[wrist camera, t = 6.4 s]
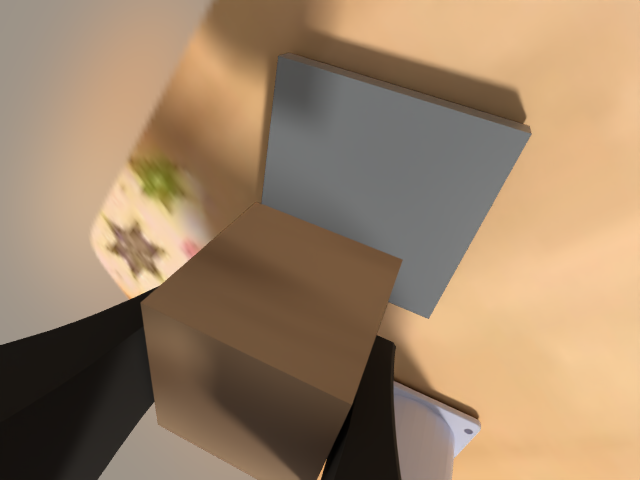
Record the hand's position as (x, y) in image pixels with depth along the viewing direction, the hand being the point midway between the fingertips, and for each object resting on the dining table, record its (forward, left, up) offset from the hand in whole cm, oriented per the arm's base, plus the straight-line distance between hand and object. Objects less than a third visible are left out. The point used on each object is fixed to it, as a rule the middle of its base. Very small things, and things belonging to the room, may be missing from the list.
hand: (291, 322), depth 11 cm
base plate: (0, 0, -9) cm, 9 cm away
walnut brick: (0, 0, -1) cm, 1 cm away
